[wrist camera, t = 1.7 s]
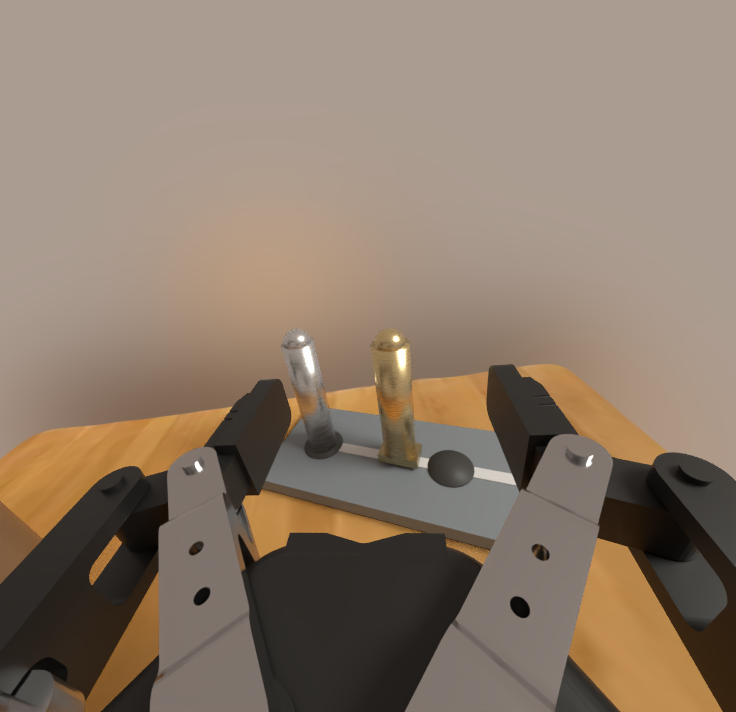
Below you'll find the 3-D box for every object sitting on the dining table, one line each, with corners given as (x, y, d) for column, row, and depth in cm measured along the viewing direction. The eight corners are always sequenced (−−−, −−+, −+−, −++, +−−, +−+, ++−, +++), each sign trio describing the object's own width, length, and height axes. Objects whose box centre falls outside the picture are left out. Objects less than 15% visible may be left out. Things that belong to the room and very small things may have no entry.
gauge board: (259, 487, 32) (254, 477, 31) (313, 414, 42) (310, 404, 41) (566, 570, 22) (570, 558, 22) (544, 449, 32) (547, 438, 31)
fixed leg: (305, 451, 34) (270, 336, 27) (318, 432, 36) (288, 323, 29) (329, 456, 33) (299, 338, 26) (341, 436, 35) (316, 324, 28)
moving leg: (377, 464, 31) (358, 337, 24) (386, 441, 33) (371, 321, 26) (416, 472, 29) (408, 340, 22) (422, 447, 32) (417, 322, 25)
